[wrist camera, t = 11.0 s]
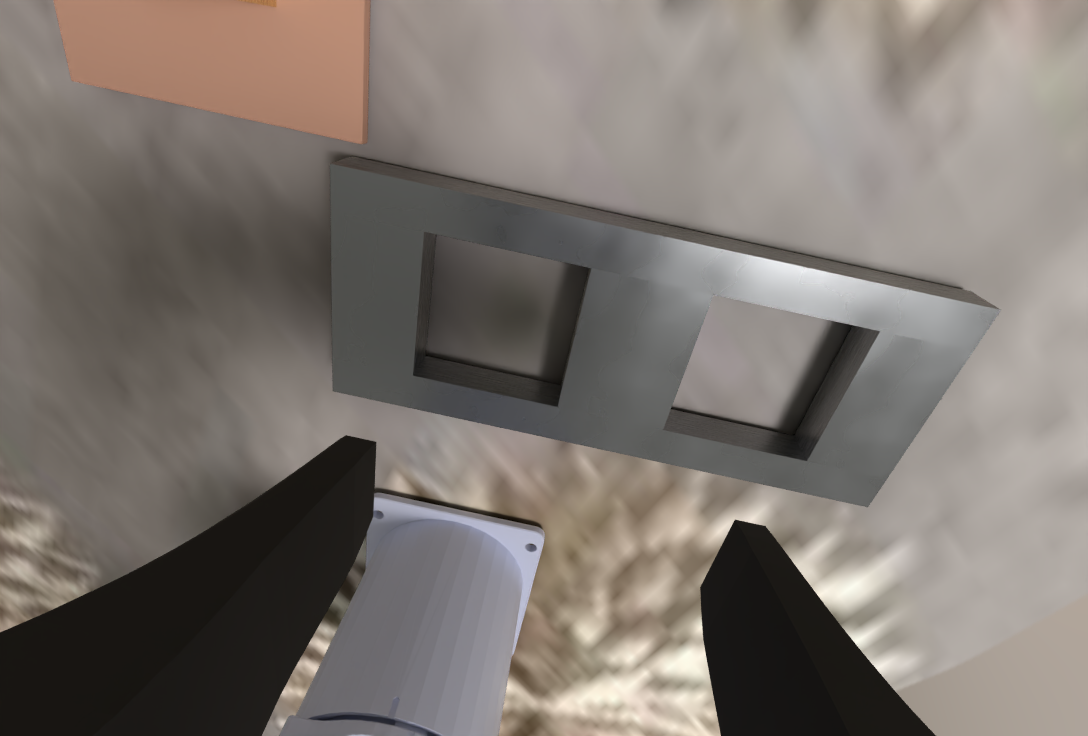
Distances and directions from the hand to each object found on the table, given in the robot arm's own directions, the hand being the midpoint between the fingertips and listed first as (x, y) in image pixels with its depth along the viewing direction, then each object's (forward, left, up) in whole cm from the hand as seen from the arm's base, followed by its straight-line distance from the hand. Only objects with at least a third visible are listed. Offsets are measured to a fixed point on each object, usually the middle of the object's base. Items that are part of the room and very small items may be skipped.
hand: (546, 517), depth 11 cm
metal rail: (0, -2, -9) cm, 10 cm away
